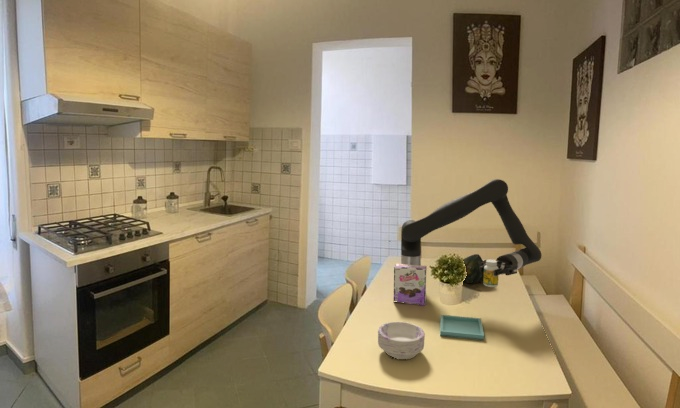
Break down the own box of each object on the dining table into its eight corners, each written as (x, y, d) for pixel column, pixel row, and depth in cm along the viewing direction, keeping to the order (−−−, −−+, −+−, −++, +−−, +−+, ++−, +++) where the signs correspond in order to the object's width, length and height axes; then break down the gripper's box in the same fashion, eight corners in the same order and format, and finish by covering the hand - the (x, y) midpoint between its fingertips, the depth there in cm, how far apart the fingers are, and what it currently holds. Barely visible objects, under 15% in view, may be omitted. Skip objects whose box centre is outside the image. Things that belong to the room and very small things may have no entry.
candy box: (393, 302, 179) (393, 266, 177) (395, 298, 185) (395, 262, 183) (425, 305, 176) (425, 268, 173) (426, 300, 181) (426, 265, 179)
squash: (446, 269, 208) (465, 251, 200) (462, 265, 218) (480, 247, 210) (464, 293, 201) (484, 275, 193) (479, 287, 211) (499, 270, 203)
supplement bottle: (500, 286, 157) (502, 261, 156) (490, 288, 155) (491, 263, 154) (490, 281, 162) (491, 258, 161) (480, 283, 160) (481, 260, 159)
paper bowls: (432, 360, 131) (433, 337, 130) (388, 368, 126) (389, 344, 125) (411, 339, 145) (411, 318, 144) (371, 345, 141) (371, 323, 140)
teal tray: (440, 335, 148) (440, 331, 147) (440, 319, 162) (440, 314, 162) (483, 340, 144) (484, 335, 144) (480, 322, 158) (480, 318, 158)
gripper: (493, 250, 172) (471, 258, 161) (527, 257, 161) (506, 266, 150) (492, 267, 173) (470, 276, 162) (526, 275, 162) (505, 285, 151)
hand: (487, 271), depth 156 cm, fingers closed on supplement bottle, 5 cm apart
